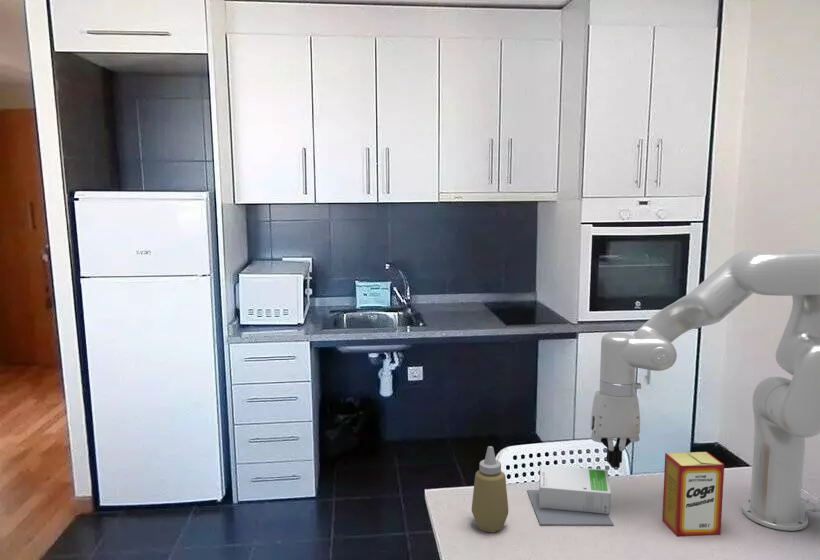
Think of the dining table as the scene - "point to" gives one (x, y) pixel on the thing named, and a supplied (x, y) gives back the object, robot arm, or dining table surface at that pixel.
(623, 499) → the dining table surface
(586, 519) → the mat
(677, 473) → the baking soda box
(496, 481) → the squeeze bottle
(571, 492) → the skincare box
